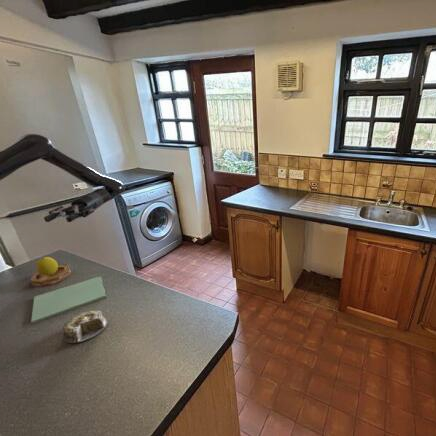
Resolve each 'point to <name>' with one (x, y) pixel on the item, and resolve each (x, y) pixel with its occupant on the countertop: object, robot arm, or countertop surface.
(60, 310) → the mat
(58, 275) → the holder
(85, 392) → the countertop surface
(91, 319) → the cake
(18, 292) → the countertop surface
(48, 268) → the lemon
